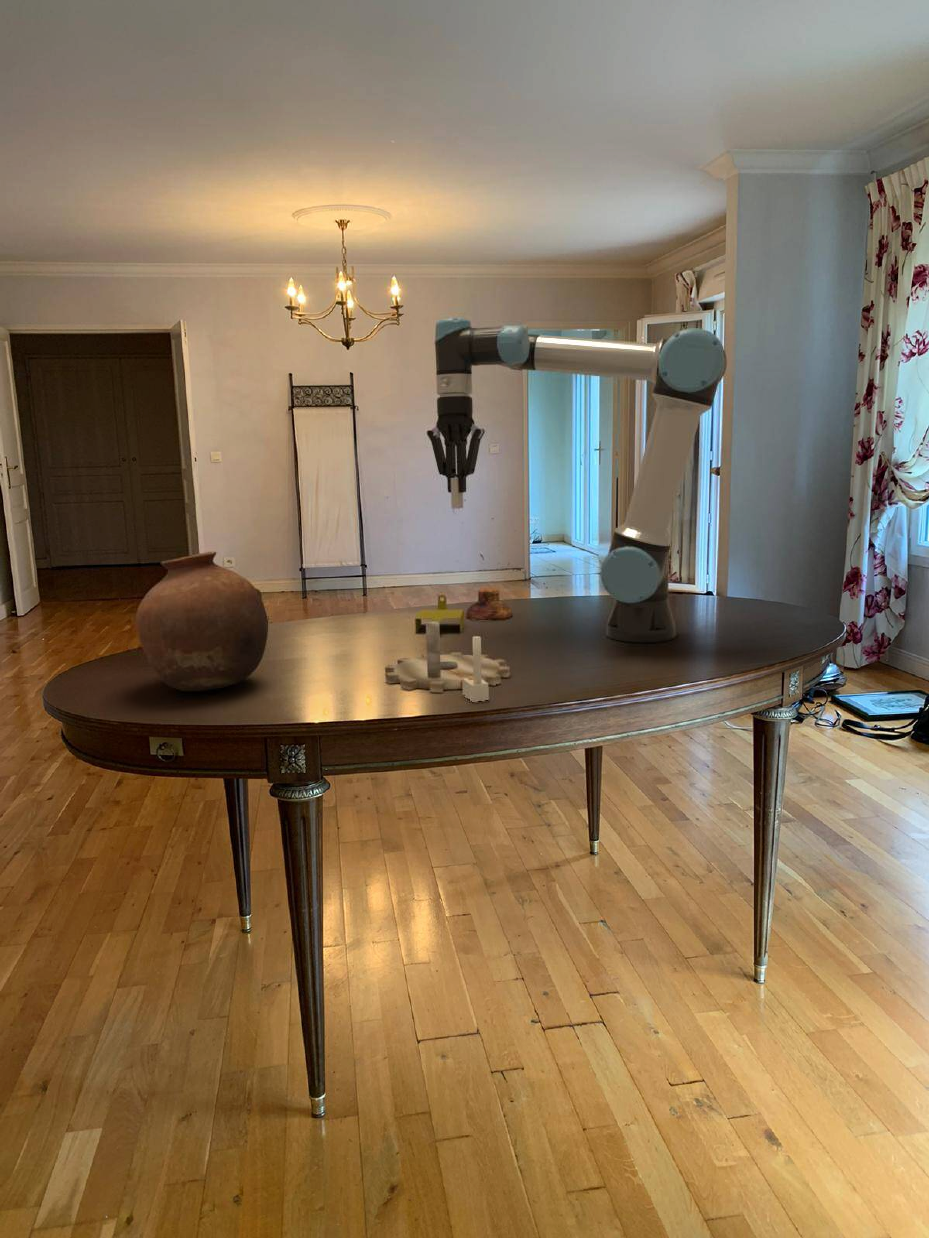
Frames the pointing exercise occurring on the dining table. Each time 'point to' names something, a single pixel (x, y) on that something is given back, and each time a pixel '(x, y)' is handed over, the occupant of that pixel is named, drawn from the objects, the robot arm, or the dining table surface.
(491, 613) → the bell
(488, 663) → the sprocket
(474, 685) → the index post
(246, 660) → the pottery
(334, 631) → the dining table surface
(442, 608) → the bracket
